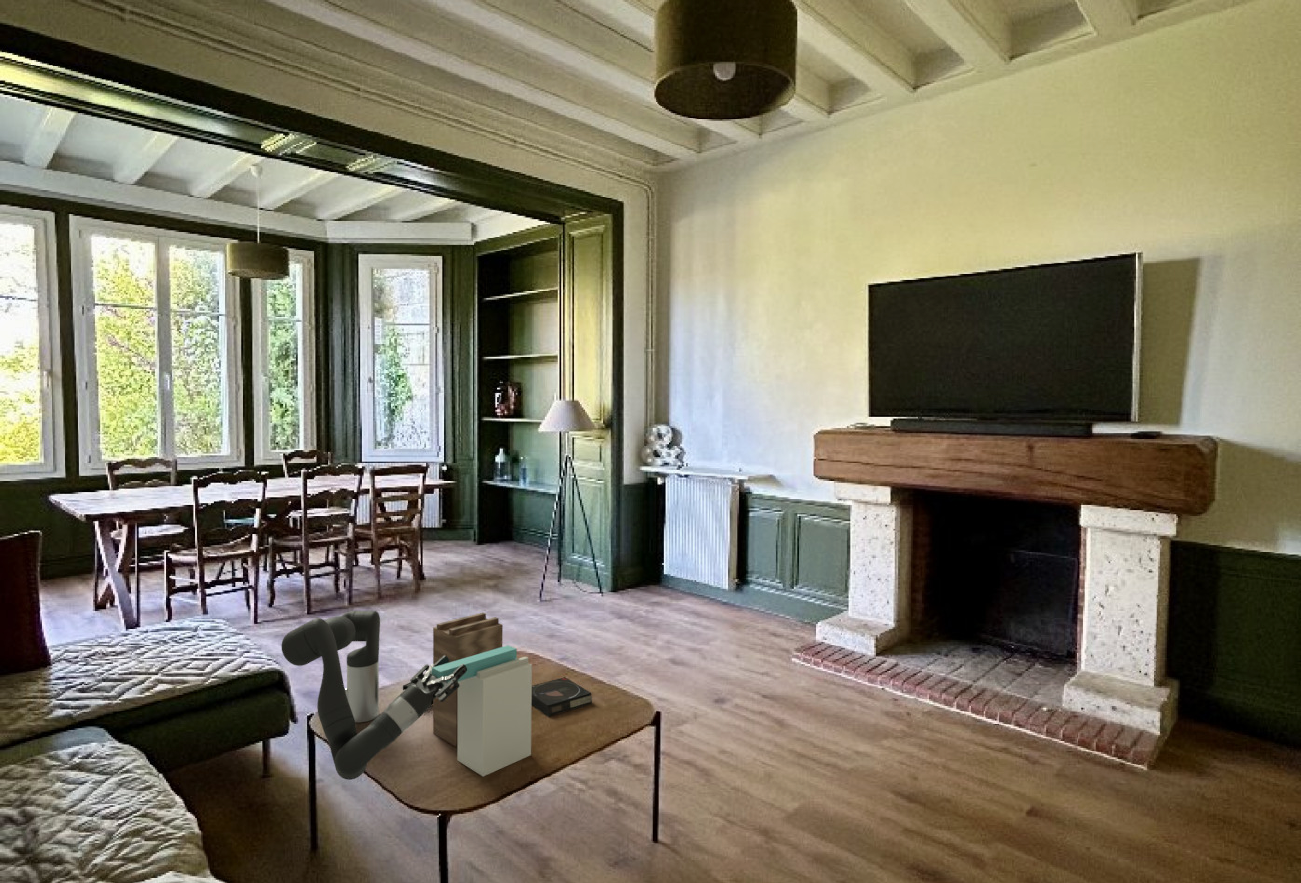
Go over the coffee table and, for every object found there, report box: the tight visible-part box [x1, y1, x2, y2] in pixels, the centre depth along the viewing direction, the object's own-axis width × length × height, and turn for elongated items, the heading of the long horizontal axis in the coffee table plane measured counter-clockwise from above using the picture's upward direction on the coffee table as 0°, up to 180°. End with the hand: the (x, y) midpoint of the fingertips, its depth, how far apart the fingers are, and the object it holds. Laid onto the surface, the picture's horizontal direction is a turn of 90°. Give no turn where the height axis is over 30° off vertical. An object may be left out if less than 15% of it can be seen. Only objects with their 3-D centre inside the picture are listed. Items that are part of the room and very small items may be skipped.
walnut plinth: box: [432, 612, 504, 748], centre depth 216 cm, size 16×12×34 cm
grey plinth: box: [456, 656, 533, 777], centre depth 200 cm, size 16×12×28 cm
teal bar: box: [432, 644, 518, 687], centre depth 195 cm, size 24×4×4 cm, turn 138°
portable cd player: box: [531, 676, 593, 717], centre depth 239 cm, size 16×17×4 cm
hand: (456, 662), depth 190 cm, fingers open, 8 cm apart
